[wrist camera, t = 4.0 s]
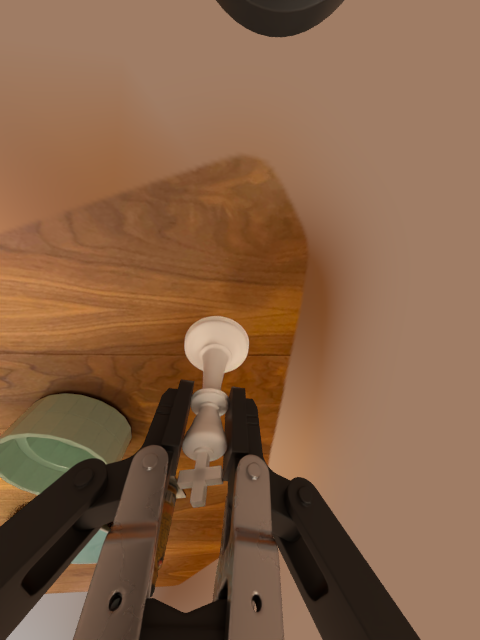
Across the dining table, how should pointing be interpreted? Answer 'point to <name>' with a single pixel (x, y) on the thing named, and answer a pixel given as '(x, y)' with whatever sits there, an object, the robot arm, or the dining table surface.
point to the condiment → (165, 525)
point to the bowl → (60, 439)
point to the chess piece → (210, 399)
